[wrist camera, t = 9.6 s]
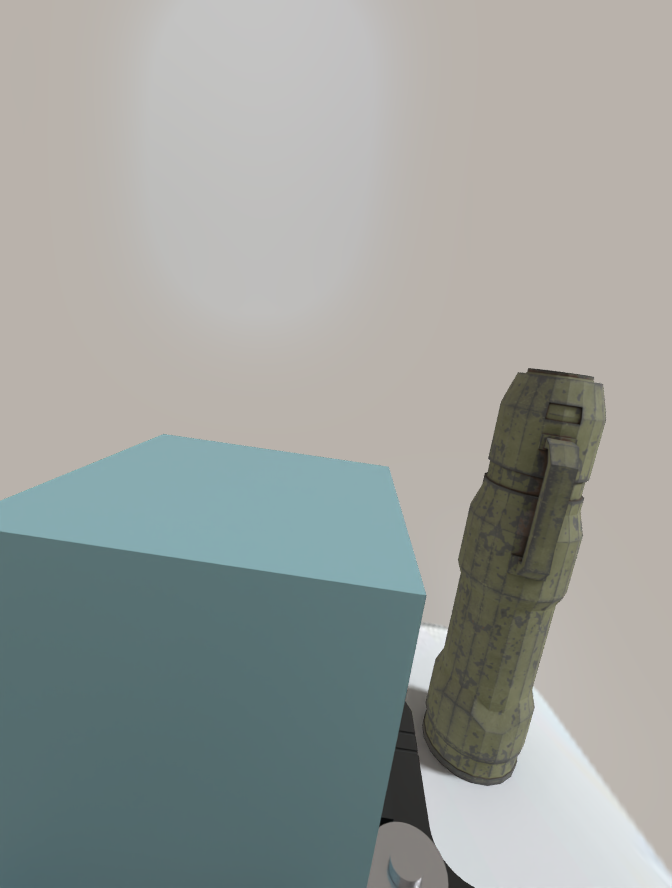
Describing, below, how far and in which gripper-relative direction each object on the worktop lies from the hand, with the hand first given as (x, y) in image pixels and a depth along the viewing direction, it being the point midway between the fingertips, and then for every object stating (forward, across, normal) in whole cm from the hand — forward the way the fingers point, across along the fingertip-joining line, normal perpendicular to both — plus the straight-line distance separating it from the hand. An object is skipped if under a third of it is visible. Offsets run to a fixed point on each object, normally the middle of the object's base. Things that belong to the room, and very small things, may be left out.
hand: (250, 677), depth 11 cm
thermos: (+25, -17, +26) cm, 40 cm away
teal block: (-3, 0, +8) cm, 8 cm away
